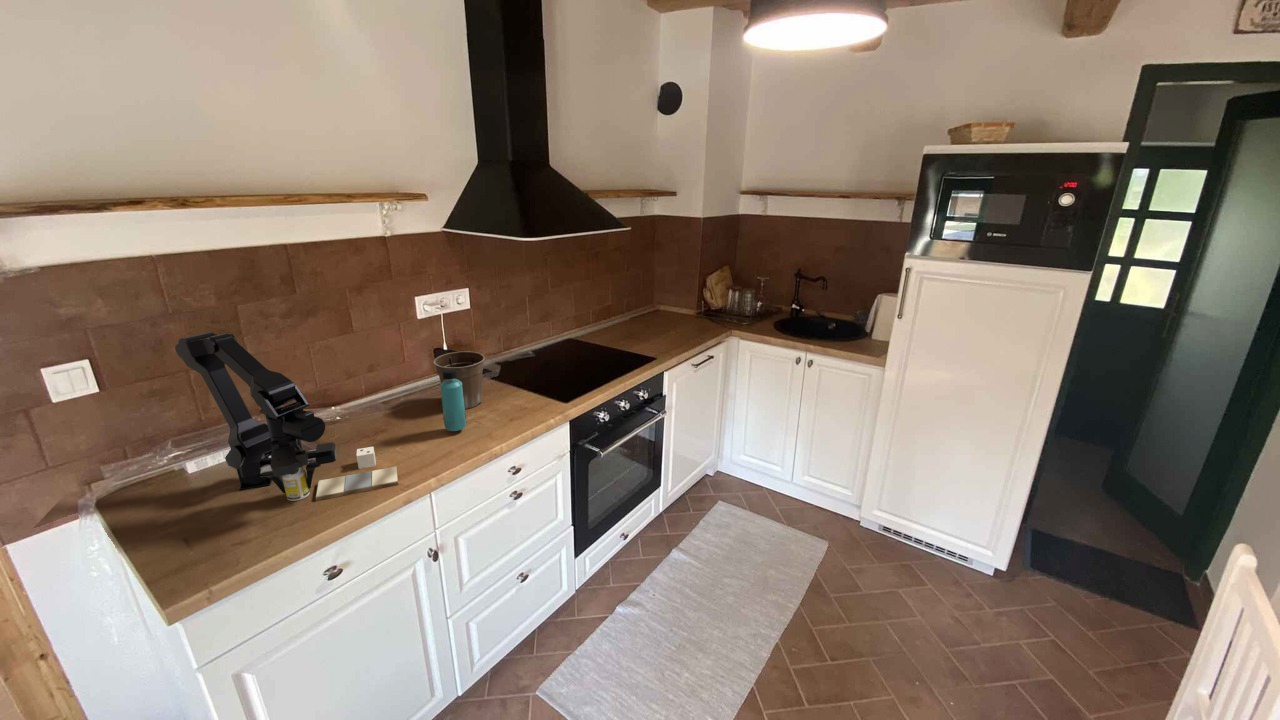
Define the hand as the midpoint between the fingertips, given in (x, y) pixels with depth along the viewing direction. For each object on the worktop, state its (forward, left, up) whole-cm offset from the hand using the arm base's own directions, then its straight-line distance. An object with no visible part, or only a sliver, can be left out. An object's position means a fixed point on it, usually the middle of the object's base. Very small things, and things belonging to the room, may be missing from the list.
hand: (297, 490), depth 126 cm
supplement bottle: (0, 0, -2) cm, 2 cm away
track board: (+13, 0, -2) cm, 13 cm away
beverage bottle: (+39, +21, -2) cm, 44 cm away
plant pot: (+44, +42, -2) cm, 61 cm away
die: (+15, +10, -2) cm, 18 cm away
